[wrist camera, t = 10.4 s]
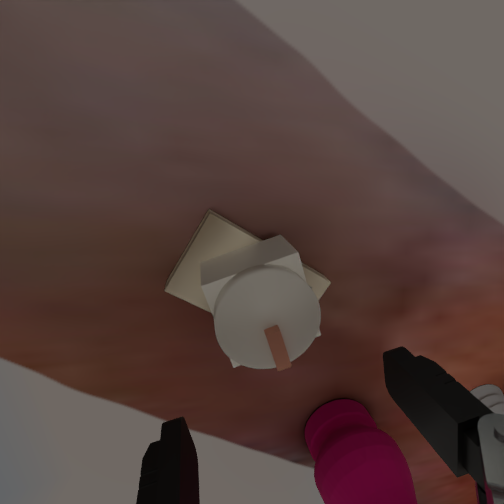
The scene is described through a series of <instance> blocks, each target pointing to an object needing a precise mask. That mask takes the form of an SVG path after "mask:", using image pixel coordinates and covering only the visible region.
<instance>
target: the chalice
mask: <svg viewBox="0 0 504 504" xmlns="http://www.w3.org/2000/svg"><path fill="white" fill-rule="evenodd" d="M470 393H472V394H473V395H474V396H475V397H476V398H477V399H479V400H480V401H481V402H482V403H483V404H484V405H486V406H487V407H488V408H489V409H490V410H491V411H493V412H494V413H497V414H503V415H504V395H503V393H502V391H501V390H500V388H499V387H497V386H495V385H489V384H487V385H483V386H479V387H477V388H475V389H473V390H472V391H471V392H470Z"/></svg>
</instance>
